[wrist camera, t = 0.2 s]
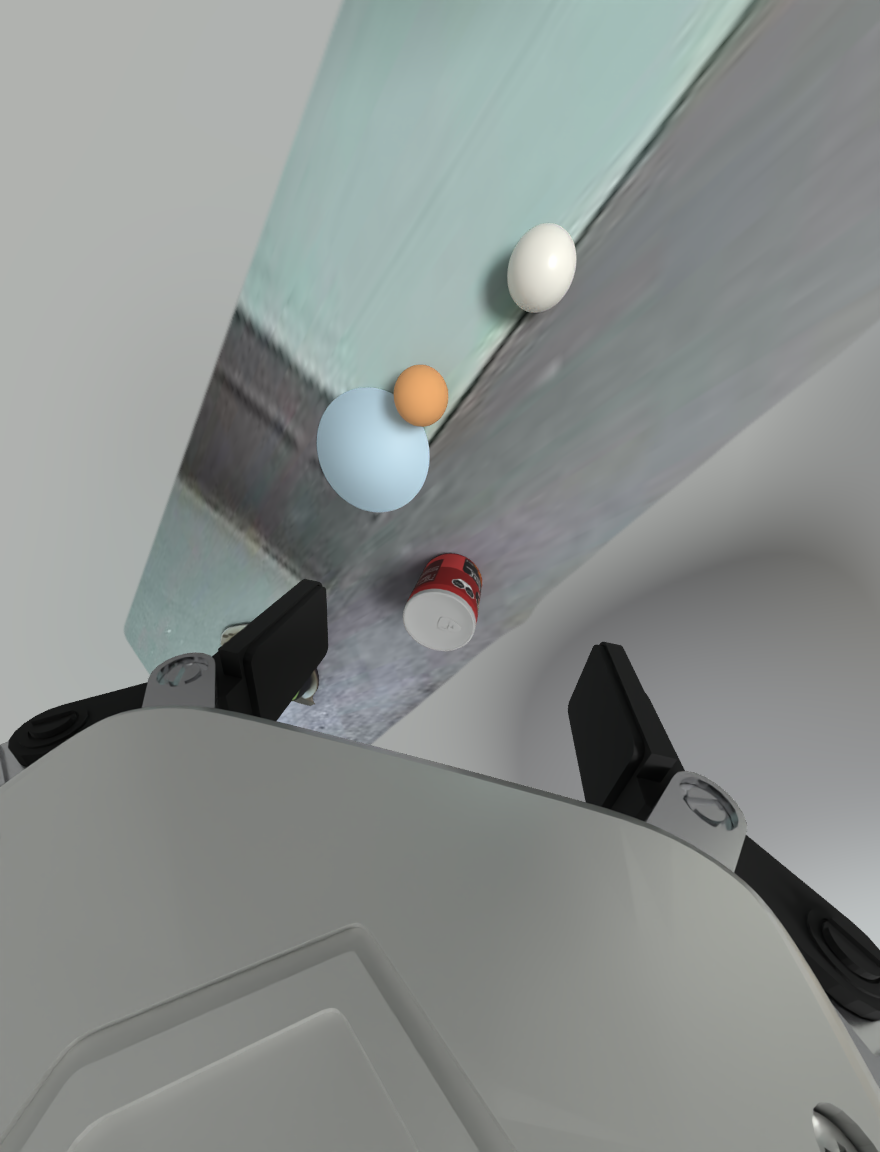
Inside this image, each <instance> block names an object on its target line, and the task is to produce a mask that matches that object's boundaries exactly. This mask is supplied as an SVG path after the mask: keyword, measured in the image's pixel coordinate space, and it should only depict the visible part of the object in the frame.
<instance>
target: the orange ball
mask: <svg viewBox="0 0 880 1152" xmlns="http://www.w3.org/2000/svg"><path fill="white" fill-rule="evenodd" d="M394 403H395V406H396V409H397V411H398V413H399V414H400V416H401V417H402V418H403V419H404V420H405V421H407V422H408V423H410V424H412V425H414V426H420V427H424V426H429V425H431V424H433V423H435V422H436V421H438V420H439V419H440V418H441V417H442V415H443V414H444V412H445V410H446V407H447V403H448V389H447V386H446V383H445V381H444V379H443V377H442V376H441V375H440V374H439V373H438V372H437V371H436V370H435V369H433V368H432V367H429V366H426V365H414V366H411V367H409V368H407V369H406V370H404V371H403V372H402V373H401V374H400V376H399V377H398V379H397V381H396V384H395V387H394Z"/></svg>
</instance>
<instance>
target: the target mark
mask: <svg viewBox="0 0 880 1152" xmlns="http://www.w3.org/2000/svg"><path fill="white" fill-rule="evenodd" d="M317 453H318V458H319V462H320V465H321V468H322V471H323V473H324V475H325V477H326V479H327V480H328V482H329V484H330V485H331V486H332V488H333V489H334V490H335V491H336V492H337V493H338V494H339V495H340V496H341V497H342V498H343V499H344V500H346V501H347V502H348V503H350V504H352V505H354V506H355V507H358V508H360V509H363V510H366V511H371V512H388V511H392V510H396V509H398V508H400V507H402V506H404V505H405V504H407V503H408V502H410V501H411V500H412V499H413V498H414V497H415V496H416V495H417V494H418V492H419V491H420V489H421V488H422V486H423V484H424V482H425V479H426V476H427V473H428V468H429V459H430V454H429V445H428V440H427V436H426V433H425V430H424V428H423V427H420V426H414V425H412V424H410V423H408V422H407V421H405V420H404V419H403V418H402V417H401V416H400V414H399V413H398V411H397V409H396V406H395V403H394V394H392V393H390V392H388V391H385V390H382V389H378V388H371V387H362V388H356V389H352V390H349V391H347V392H345V393H343V394H341V395H340V396H338V397H337V398H336V399H335V400H334V401H332V403H331V404H330V405H329V406H328V407H327V409H326V411H325V412H324V414H323V416H322V418H321V421H320V424H319V427H318V433H317Z"/></svg>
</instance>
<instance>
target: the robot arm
mask: <svg viewBox="0 0 880 1152" xmlns="http://www.w3.org/2000/svg"><path fill="white" fill-rule="evenodd" d="M327 650H328V627H327V600H326V589H325V587H322V584H321V583H320V582H317V581H312V580H307V579H303V580H302V581H300V582H299V583H298V584H297V585H296V586H294V587H293V588H292V589H291V590H290V591H288V592H287V593H286V594H285V595H283V596H282V597H281V598H280V599H279V600H277V601H276V602H275V603H274V604H272V605H271V606H270V607H269V608H268V609H266V610H265V611H264V612H263V613H261V614H260V615H259V616H258V617H257V618H255V619H254V620H253V621H252V622H250V623H249V624H248V625H247V626H246V627H244V628H243V629H242V630H241V631H239V632H238V633H237V634H236V635H235V636H233V637H232V638H231V639H230V640H228V641H227V642H226V643H225V644H224V645H222V646H221V647H220V648H219V649H218V652H217V653H216V654H215V655H213V656H212V657H211V656H210V655H208V654H204V653H187V654H182V655H179V656H175V657H173V658H171V659H169V660H166V661H165V662H163V663H162V664H160V665H158V666H157V667H156V668H155V669H154V670H153V671H152V673H151V675H150V677H149V679H148V682H147V683H143V684H139V685H136V686H132V687H128V688H125V689H121V690H117V691H114V692H110V693H106V694H102V695H99V696H95V697H91V698H87V699H83V700H79V701H76V702H72V703H68V704H64V705H61V706H58V707H55V708H52V709H50V710H47V711H45V712H43V713H41V714H39V715H37V716H35V717H33V718H32V719H30V720H29V721H27V722H26V723H24V724H23V725H22V726H21V727H20V728H18V730H16V731H15V732H14V734H13V735H12V736H11V738H10V739H9V741H8V742H6V743H3V744H1V745H0V1152H880V950H879V949H878V948H877V946H876V945H875V944H874V943H873V942H872V941H871V940H870V938H869V937H868V936H867V935H865V933H863V932H862V931H861V930H860V929H859V928H858V927H857V926H856V925H855V924H853V922H851V921H850V920H849V919H848V918H847V917H845V916H844V915H843V914H842V913H840V912H839V911H838V910H837V909H836V908H834V907H833V906H832V905H831V904H830V903H828V902H827V901H826V900H825V899H824V898H822V897H821V896H820V895H819V894H817V893H816V892H815V891H814V890H813V889H811V888H810V887H809V886H808V885H806V884H805V883H804V882H803V881H802V880H800V879H799V878H798V877H797V876H796V875H794V874H793V873H792V872H791V871H789V870H788V869H787V868H786V867H784V866H783V865H782V864H781V863H780V862H779V861H777V860H776V859H774V858H773V857H772V856H771V855H770V854H769V853H767V852H766V851H765V850H764V849H763V848H761V847H760V846H759V845H758V844H756V843H755V842H754V841H753V840H752V839H751V838H749V837H748V836H747V835H746V832H747V822H746V820H745V817H744V814H743V812H742V811H741V809H740V808H739V807H738V805H737V803H736V802H735V801H734V800H733V799H732V798H731V796H730V795H729V794H728V793H727V792H726V791H724V790H723V789H722V788H721V787H720V786H718V785H717V784H716V783H714V782H712V781H711V780H709V779H708V778H706V777H704V776H701V775H699V774H697V773H694V772H688V771H685V770H684V768H683V766H682V764H681V762H680V760H679V758H678V756H677V754H676V752H675V750H674V748H673V746H672V744H671V742H670V740H669V738H668V736H667V734H666V731H665V729H664V727H663V725H662V723H661V721H660V719H659V717H658V715H657V713H656V711H655V709H654V707H653V705H652V703H651V701H650V699H649V697H648V696H647V694H646V693H645V692H644V690H643V688H642V686H641V684H640V682H639V679H638V677H637V675H636V673H635V671H634V669H633V667H632V665H631V663H630V661H629V659H628V657H627V655H626V653H625V651H624V649H623V647H622V646H621V645H617V644H611V643H607V642H601V643H600V645H594V646H593V648H592V651H591V653H590V655H589V658H588V660H587V662H586V664H585V667H584V669H583V671H582V674H581V676H580V678H579V680H578V683H577V685H576V688H575V690H574V692H573V694H572V697H571V699H570V701H569V705H568V715H569V720H570V725H571V730H572V735H573V740H574V745H575V750H576V755H577V760H578V766H579V770H580V776H581V781H582V786H583V791H584V796H585V800H586V802H582V801H579V800H575V799H572V798H568V797H564V796H561V795H557V794H554V793H550V792H547V791H543V790H539V789H536V788H532V787H528V786H524V785H521V784H517V783H513V782H509V781H505V780H502V779H498V778H494V777H491V776H487V775H483V774H479V773H475V772H471V771H468V770H464V769H460V768H456V767H452V766H449V765H445V764H441V763H437V762H434V761H430V760H426V759H422V758H418V757H414V756H410V755H407V754H403V753H399V752H395V751H391V750H387V749H383V748H380V747H375V746H372V745H368V744H364V743H360V742H356V741H352V740H348V739H345V738H341V737H337V736H333V735H329V734H325V733H321V732H317V731H313V730H309V729H305V728H301V727H297V726H293V725H289V724H285V723H281V722H277V720H278V718H279V717H280V716H281V714H282V713H283V712H284V710H285V709H286V708H287V706H288V705H289V704H290V702H291V701H292V700H293V698H294V697H295V696H296V694H297V693H298V692H299V690H300V689H301V688H302V686H303V685H304V684H305V682H306V681H307V680H308V678H309V677H310V676H311V674H312V673H313V672H314V670H315V669H316V668H317V666H318V665H319V664H320V662H321V661H322V659H323V658H324V657H325V655H326V653H327Z"/></svg>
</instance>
